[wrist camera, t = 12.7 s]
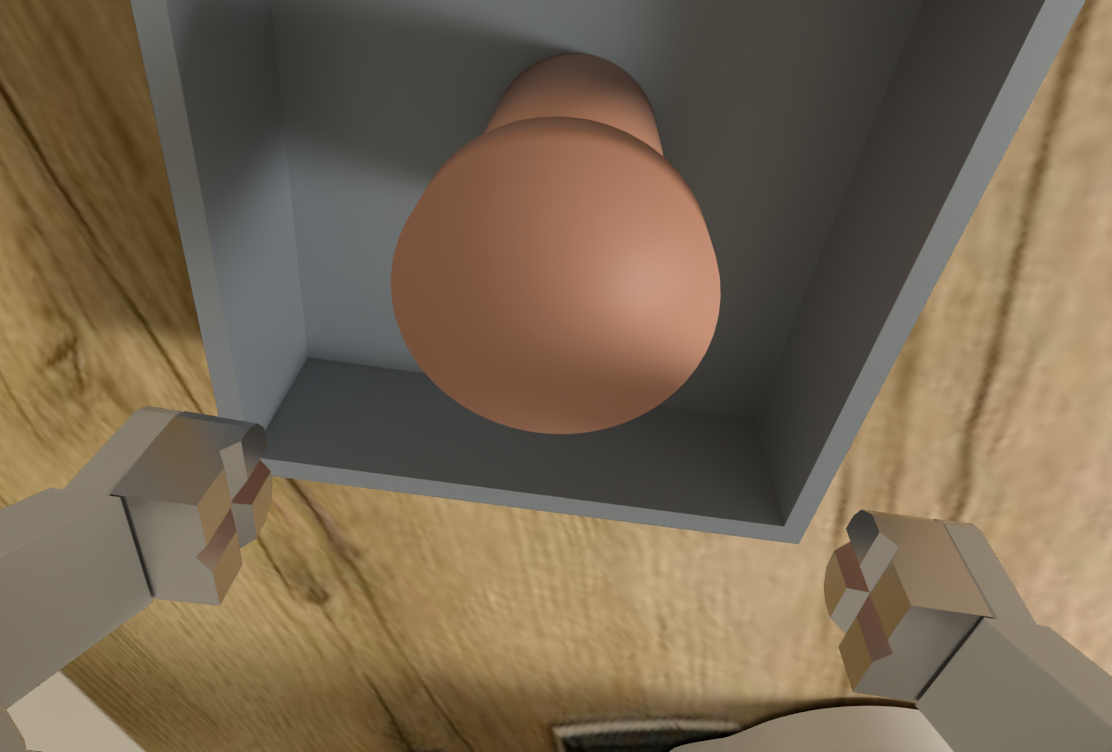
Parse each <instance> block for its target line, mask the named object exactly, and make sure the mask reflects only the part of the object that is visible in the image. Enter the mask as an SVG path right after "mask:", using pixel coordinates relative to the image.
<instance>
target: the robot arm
mask: <svg viewBox="0 0 1112 752" xmlns="http://www.w3.org/2000/svg"><path fill="white" fill-rule="evenodd" d="M267 447H268V446H267V440H266V435H265V429H264V427H262V426H261V425H259V424H258V423H252V422H246V421H240V420H234V419H228V418H222V417H216V416H210V415H204V414H198V413H192V412H186V411H185V412H181V411H175V410H169V409H164V408H158V407H152V406H146V407H143V408H140V409H138V410H136V411H135V412H134V413H133V414H132V415H131V416H130V417H129V418H128V419H127V420H126V421H125V423H124V424H123V425H122V426H121V427H120V428H119V429H118V430H117V431H116V432H115V433H114V434H113V436H112V437H111V438H110V439H109V440H108V441H107V442H106V443H105V444H104V445H103V446H102V447H101V449H100V450H99V451H98V452H97V453H96V454H95V455H94V456H93V457H92V458H91V459H90V460H89V462H88V463H87V464H86V465H85V466H84V467H83V468H82V469H81V470H80V471H79V472H78V474H77V475H76V476H75V477H74V478H73V479H72V480H71V481H70V482H69V483H68V484H67V485H66V487H65V488H64V489H57V488H49V489H47V490H44V491H42V492H40V493H37V494H35V495H33V496H31V497H28V498H26V499H24V500H22V501H19V502H17V503H15V504H12V505H10V506H8V507H6V508H3V509H1V510H0V752H40V751H32V750H26V745H25V741H24V738H23V737H22V735H21V733H20V732H19V730H18V728H17V727H16V725H15V723H14V722H13V720H12V718H11V717H10V715H9V713H8V712H7V710H6V709H7V708H8V707H10V706H11V705H12V704H14V703H15V702H17V701H18V700H19V699H21V698H22V697H24V696H25V695H26V694H28V693H29V692H30V691H32V690H33V689H34V688H36V687H37V686H39V685H40V684H41V683H43V682H44V681H45V680H47V679H48V678H50V677H51V676H52V675H54V674H55V673H56V672H58V671H59V670H60V669H62V668H63V667H65V666H66V665H67V664H69V663H70V662H71V661H73V660H74V659H76V658H77V657H78V656H80V655H81V654H82V653H84V652H85V651H86V650H88V649H89V648H91V647H92V646H93V645H95V644H96V643H97V642H99V641H100V640H101V639H103V638H104V637H106V636H107V635H108V634H110V633H111V632H112V631H114V630H115V629H117V628H118V627H119V626H121V625H122V624H123V623H125V622H126V621H127V620H129V619H130V618H132V617H133V616H134V615H136V614H137V613H138V612H140V611H141V610H142V609H144V608H145V607H147V606H148V605H149V604H151V603H152V598H154V599H163V600H172V601H182V602H191V603H200V604H209V605H219V606H220V604H221V603H222V601H223V599H224V597H225V595H226V594H227V592H228V590H229V588H230V586H231V584H232V583H233V581H234V579H235V577H236V575H237V574H238V572H239V570H240V568H241V566H242V565H243V564H242V558H241V552H240V548H242V547H243V546H245V545H246V544H248V543H250V542H251V541H253V540H255V539H256V538H257V537H258V535H259V533H260V531H261V529H262V527H263V525H264V523H265V521H266V518H267V515H268V511H269V508H270V504H271V500H272V486H273V484H272V476H271V471H270V470H269V469H268V467H267V466H266V465H265V464H264V463H263V462H262V461H261V460H260V458H261V457H262V455H263V453H264V452H265V450H266V448H267ZM846 530H847V532H848V535H849V538H850V541H851V542H849V543H847V544H845V545H844V546H842V547H840V548H838V549H836V550H835V551H834V552H833V555H832V557H831V559H830V561H829V563H828V565H827V567H826V574H825V581H824V594H825V602H826V606H827V609H828V613H829V616H830V618H831V619H832V620H833V621H834V622H835V623H836V624H837V625H838V626H839V627H840V629H841V630H842V631H843V632H844V633H845V635H844V637H843V639H842V641H841V643H840V645H839V649H840V652H841V656H842V659H843V662H844V665H845V668H846V672H847V675H848V678H849V681H850V684H851V688H852V691H853V692H857V693H863V694H869V695H875V696H881V697H888V698H894V699H900V700H906V701H912V702H917V704H916V707H917V708H918V709H919V710H916V709H909V708H900V707H887V706H848V707H835V708H826V709H819V710H812V711H807V712H801V713H797V714H792V715H788V716H784V717H781V718H777V719H774V720H771V721H768V722H765V723H762V724H759V725H757V726H754V727H752V728H750V729H747V730H745V731H742V732H740V733H737V734H735V735H732V736H729V737H725V738H720V739H713V740H707V741H701V742H695V743H690V744H685V745H681V746H678V747H676V748H674V749H672V750H671V751H669V752H1112V676H1110V675H1109V674H1108V673H1107V672H1105V671H1104V670H1103V669H1101V668H1100V667H1099V666H1098V665H1096V664H1095V663H1094V662H1093V661H1091V660H1090V659H1089V658H1088V657H1086V656H1085V655H1084V654H1083V653H1081V652H1080V651H1079V650H1077V649H1076V648H1075V647H1074V646H1072V645H1071V644H1070V643H1069V642H1067V641H1066V640H1065V639H1064V638H1062V637H1061V636H1060V635H1059V634H1057V633H1056V632H1055V631H1053V630H1052V629H1051V628H1050V627H1046V626H1040V625H1037V624H1036V622H1035V621H1034V619H1033V617H1032V616H1031V614H1030V612H1029V611H1028V609H1027V607H1026V606H1025V604H1024V602H1023V600H1022V599H1021V597H1020V595H1019V594H1018V592H1017V590H1016V589H1015V587H1014V585H1013V583H1012V582H1011V580H1010V578H1009V577H1008V575H1007V573H1006V572H1005V570H1004V568H1003V567H1002V565H1001V563H1000V561H999V560H998V558H997V556H996V555H995V553H994V551H993V550H992V548H991V546H990V544H989V543H988V541H987V539H986V538H985V536H984V534H983V533H982V531H981V530H980V529H978V528H977V527H976V526H975V525H973V524H971V523H963V522H955V521H947V520H939V519H934V520H932V519H928V518H921V517H913V516H906V515H898V514H891V513H884V512H876V511H869V510H860V511H859V512H858V513H857V514H855V515H854V516H853V518H852V519H851V521H850V523H849V525H848V526H847V528H846Z"/></svg>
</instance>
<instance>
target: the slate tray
mask: <svg viewBox="0 0 1112 752" xmlns="http://www.w3.org/2000/svg"><path fill="white" fill-rule="evenodd" d="M130 2H131V7H132V11H133V16H134V21H135V25H136V30H137V35H138V39H139V44H140V49H141V53H142V58H143V63H144V68H145V72H146V77H147V82H148V86H149V91H150V96H151V100H152V105H153V110H154V114H155V119H156V124H157V129H158V133H159V138H160V143H161V147H162V152H163V157H164V161H165V166H166V171H167V175H168V180H169V185H170V190H171V194H172V199H173V204H174V208H175V213H176V218H177V222H178V227H179V232H180V236H181V241H182V246H183V250H184V255H185V260H186V265H187V269H188V274H189V279H190V283H191V288H192V293H193V297H194V302H195V307H196V311H197V316H198V321H199V326H200V330H201V335H202V340H203V344H204V349H205V354H206V358H207V363H208V368H209V372H210V377H211V382H212V387H213V391H214V396H215V401H216V405H217V410H218V415H219V417H222V418H228V419H234V420H240V421H246V422H252V423H258V424H259V425H261V426H262V427H264V429H265V435H266V440H267V446H268V447H267V448H266V450H265V452H264V453H263V455H262V457H261V458H260V460H261V461H262V462H263V463H264V464H265V465H266V466H267V467H268V469H269V470H270V471H271V476H278V477H286V478H293V479H301V480H309V481H316V482H324V483H332V484H339V485H347V486H355V487H363V488H370V489H378V490H386V491H393V492H401V493H409V494H416V495H424V496H432V497H439V498H447V499H455V500H463V501H470V502H478V503H486V504H493V505H501V506H509V507H516V508H524V509H532V510H540V511H547V512H555V513H563V514H570V515H578V516H586V517H593V518H601V519H609V520H616V521H624V522H632V523H640V524H647V525H655V526H663V527H670V528H678V529H686V530H693V531H701V532H709V533H717V534H724V535H732V536H740V537H747V538H755V539H763V540H770V541H778V542H786V543H794V544H799V542H800V541H801V539H802V537H803V535H804V533H805V531H806V529H807V527H808V525H809V524H810V522H811V520H812V518H813V516H814V514H815V512H816V510H817V508H818V506H819V505H820V503H821V501H822V499H823V497H824V495H825V493H826V491H827V489H828V487H829V486H830V484H831V482H832V480H833V478H834V476H835V474H836V472H837V470H838V469H839V467H840V465H841V463H842V461H843V459H844V457H845V455H846V453H847V451H848V450H849V448H850V446H851V444H852V442H853V440H854V438H855V436H856V434H857V432H858V431H859V429H860V427H861V425H862V423H863V421H864V419H865V417H866V415H867V414H868V412H869V410H870V408H871V406H872V404H873V402H874V400H875V398H876V396H877V395H878V393H879V391H880V389H881V387H882V385H883V383H884V381H885V379H886V377H887V376H888V374H889V372H890V370H891V368H892V366H893V364H894V362H895V360H896V358H897V357H898V355H899V353H900V351H901V349H902V347H903V345H904V343H905V341H906V340H907V338H908V336H909V334H910V332H911V330H912V328H913V326H914V324H915V322H916V321H917V319H918V317H919V315H920V313H921V311H922V309H923V307H924V305H925V303H926V302H927V300H928V298H929V296H930V294H931V292H932V290H933V288H934V286H935V285H936V283H937V281H938V279H939V277H940V275H941V273H942V271H943V269H944V267H945V266H946V264H947V262H948V260H949V258H950V256H951V254H952V252H953V250H954V248H955V247H956V245H957V243H958V241H959V239H960V237H961V235H962V233H963V231H964V230H965V228H966V226H967V224H968V222H969V220H970V218H971V216H972V214H973V212H974V211H975V209H976V207H977V205H978V203H979V201H980V199H981V197H982V195H983V193H984V192H985V190H986V188H987V186H988V184H989V182H990V180H991V178H992V176H993V175H994V173H995V171H996V169H997V167H998V165H999V163H1000V161H1001V159H1002V157H1003V156H1004V154H1005V152H1006V150H1007V148H1008V146H1009V144H1010V142H1011V140H1012V138H1013V137H1014V135H1015V133H1016V131H1017V129H1018V127H1019V125H1020V123H1021V121H1022V119H1023V118H1024V116H1025V114H1026V112H1027V110H1028V108H1029V106H1030V104H1031V102H1032V101H1033V99H1034V97H1035V95H1036V93H1037V91H1038V89H1039V87H1040V85H1041V83H1042V82H1043V80H1044V78H1045V76H1046V74H1047V72H1048V70H1049V68H1050V66H1051V64H1052V63H1053V61H1054V59H1055V57H1056V55H1057V53H1058V51H1059V49H1060V47H1061V46H1062V44H1063V42H1064V40H1065V38H1066V36H1067V34H1068V32H1069V30H1070V28H1071V27H1072V25H1073V23H1074V21H1075V19H1076V17H1077V15H1078V13H1079V11H1080V9H1081V8H1082V6H1083V4H1084V2H1085V0H130ZM566 53H582V54H590V55H594V56H598V57H601V58H604V59H606V60H608V61H611V62H613V63H614V64H616V65H618V66H619V67H621V68H622V69H624V70H625V71H626V72H627V73H629V74H630V75H631V76H632V77H633V78H634V79H635V80H636V81H637V83H638V84H639V85H640V86H641V88H642V89H643V91H644V92H645V94H646V96H647V98H648V100H649V101H650V104H651V106H652V109H653V112H654V115H655V120H656V124H657V129H658V134H659V138H660V143H661V147H662V152H663V156H664V157H665V158H666V159H667V161H668V162H669V163H670V164H671V165H672V166H673V167H674V168H675V169H676V170H677V171H678V172H679V173H680V175H681V176H682V177H683V179H684V180H685V182H686V183H687V184H688V186H689V187H690V189H691V191H692V192H693V194H694V196H695V198H696V200H697V202H698V204H699V206H700V209H701V212H702V214H703V217H704V220H705V223H706V226H707V229H708V233H709V236H710V239H711V243H712V246H713V249H714V253H715V256H716V260H717V265H718V270H719V276H720V294H721V298H720V307H719V316H718V320H717V324H716V327H715V331H714V335H713V337H712V340H711V342H710V344H709V347H708V349H707V351H706V353H705V355H704V356H703V358H702V360H701V361H700V363H699V365H698V366H697V368H696V369H695V370H694V372H693V373H692V374H691V375H690V377H689V378H688V379H687V380H686V382H685V383H684V384H683V385H682V386H681V387H680V388H679V389H678V390H676V391H675V392H674V393H673V394H672V395H671V396H670V397H669V398H667V399H666V400H664V401H663V402H662V403H660V404H659V405H658V406H656V407H655V408H653V409H651V410H649V411H648V412H646V413H644V414H643V415H641V416H639V417H636V418H634V419H632V420H629V421H627V422H625V423H622V424H619V425H616V426H613V427H609V428H606V429H601V430H596V431H591V432H585V433H574V434H547V433H538V432H530V431H525V430H520V429H516V428H512V427H509V426H505V425H502V424H499V423H496V422H493V421H491V420H489V419H487V418H485V417H482V416H480V415H478V414H476V413H474V412H472V411H471V410H469V409H467V408H465V407H464V406H462V405H460V404H459V403H458V402H456V401H455V400H454V399H452V398H451V397H450V396H448V395H447V394H445V393H444V392H443V391H442V390H441V389H440V388H439V387H438V386H437V385H436V384H435V383H434V382H432V381H431V379H430V378H429V377H428V376H427V375H426V374H425V372H424V371H423V370H422V369H421V368H420V366H419V365H418V363H417V362H416V360H415V359H414V357H413V356H412V354H411V353H410V351H409V350H408V348H407V345H406V343H405V341H404V339H403V337H402V335H401V333H400V330H399V327H398V324H397V321H396V318H395V314H394V309H393V303H392V298H391V271H392V262H393V257H394V253H395V249H396V245H397V241H398V239H399V236H400V234H401V232H402V229H403V227H404V225H405V223H406V221H407V219H408V217H409V216H410V214H411V213H412V211H413V209H414V208H415V206H416V204H417V203H418V201H419V199H420V198H421V196H422V194H423V193H424V191H425V189H426V188H427V186H428V185H429V183H430V181H431V180H432V178H433V177H434V175H435V174H436V173H437V172H438V170H439V169H440V168H441V167H442V166H443V165H444V163H445V162H446V161H447V160H448V159H449V158H450V157H451V156H453V155H454V154H455V153H456V152H457V151H458V150H459V149H461V148H462V147H463V146H464V145H466V144H468V143H469V142H471V141H472V140H474V139H475V138H477V137H478V136H480V135H482V134H484V132H485V130H486V128H487V126H488V124H489V122H490V120H491V118H492V116H493V114H494V112H495V110H496V108H497V106H498V104H499V102H500V100H501V98H502V96H503V95H504V93H505V92H506V90H507V88H508V87H509V86H510V84H511V83H512V82H513V81H514V80H515V79H516V77H518V76H519V75H520V74H521V73H522V72H523V71H524V70H526V69H527V68H529V67H530V66H532V65H533V64H535V63H537V62H539V61H541V60H543V59H546V58H549V57H552V56H555V55H560V54H566Z"/></svg>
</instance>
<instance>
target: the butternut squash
mask: <svg viewBox="0 0 1112 752" xmlns="http://www.w3.org/2000/svg"><path fill="white" fill-rule="evenodd" d="M391 298H392V303H393V309H394V314H395V318H396V321H397V324H398V327H399V330H400V333H401V335H402V337H403V339H404V341H405V343H406V345H407V348H408V350H409V351H410V353H411V354H412V356H413V357H414V359H415V360H416V362H417V363H418V365H419V366H420V368H421V369H422V370H423V371H424V372H425V374H426V375H427V376H428V377H429V378H430V379H431V381H432V382H434V383H435V384H436V385H437V386H438V387H439V388H440V389H441V390H442V391H443V392H444V393H445V394H447V395H448V396H450V397H451V398H452V399H454V400H455V401H456V402H458V403H459V404H460V405H462V406H464V407H465V408H467V409H469V410H471V411H472V412H474V413H476V414H478V415H480V416H482V417H485V418H487V419H489V420H491V421H493V422H496V423H499V424H502V425H505V426H509V427H512V428H516V429H520V430H525V431H530V432H538V433H547V434H574V433H585V432H591V431H596V430H601V429H606V428H609V427H613V426H616V425H619V424H622V423H625V422H627V421H629V420H632V419H634V418H636V417H639V416H641V415H643V414H644V413H646V412H648V411H649V410H651V409H653V408H655V407H656V406H658V405H659V404H660V403H662V402H663V401H664V400H666V399H667V398H669V397H670V396H671V395H672V394H673V393H674V392H675V391H676V390H678V389H679V388H680V387H681V386H682V385H683V384H684V383H685V382H686V380H687V379H688V378H689V377H690V375H691V374H692V373H693V372H694V370H695V369H696V368H697V366H698V365H699V363H700V361H701V360H702V358H703V356H704V355H705V353H706V351H707V349H708V347H709V344H710V342H711V340H712V337H713V335H714V331H715V327H716V324H717V320H718V316H719V307H720V298H721V294H720V276H719V270H718V265H717V260H716V256H715V253H714V249H713V246H712V243H711V239H710V236H709V233H708V229H707V226H706V223H705V220H704V217H703V214H702V212H701V209H700V206H699V204H698V202H697V200H696V198H695V196H694V194H693V192H692V191H691V189H690V187H689V186H688V184H687V183H686V182H685V180H684V179H683V177H682V176H681V175H680V173H679V172H678V171H677V170H676V169H675V168H674V167H673V166H672V165H671V164H670V163H669V162H668V161H667V159H666V158H665V157H664V156H663V152H662V147H661V143H660V138H659V134H658V129H657V124H656V120H655V115H654V112H653V109H652V106H651V104H650V101H649V100H648V98H647V96H646V94H645V92H644V91H643V89H642V88H641V86H640V85H639V84H638V83H637V81H636V80H635V79H634V78H633V77H632V76H631V75H630V74H629V73H627V72H626V71H625V70H624V69H622V68H621V67H619V66H618V65H616V64H614V63H613V62H611V61H608V60H606V59H604V58H601V57H598V56H594V55H590V54H582V53H566V54H560V55H555V56H552V57H549V58H546V59H543V60H541V61H539V62H537V63H535V64H533V65H532V66H530V67H529V68H527V69H526V70H524V71H523V72H522V73H521V74H520V75H519V76H518V77H516V79H515V80H514V81H513V82H512V83H511V84H510V86H509V87H508V88H507V90H506V92H505V93H504V95H503V96H502V98H501V100H500V102H499V104H498V106H497V108H496V110H495V112H494V114H493V116H492V118H491V120H490V122H489V124H488V126H487V128H486V130H485V132H484V134H482V135H480V136H478V137H477V138H475V139H474V140H472V141H471V142H469V143H468V144H466V145H464V146H463V147H462V148H461V149H459V150H458V151H457V152H456V153H455V154H454V155H453V156H451V157H450V158H449V159H448V160H447V161H446V162H445V163H444V165H443V166H442V167H441V168H440V169H439V170H438V172H437V173H436V174H435V175H434V177H433V178H432V180H431V181H430V183H429V185H428V186H427V188H426V189H425V191H424V193H423V194H422V196H421V198H420V199H419V201H418V203H417V204H416V206H415V208H414V209H413V211H412V213H411V214H410V216H409V217H408V219H407V221H406V223H405V225H404V227H403V229H402V232H401V234H400V236H399V239H398V241H397V245H396V249H395V253H394V257H393V262H392V271H391Z"/></svg>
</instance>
